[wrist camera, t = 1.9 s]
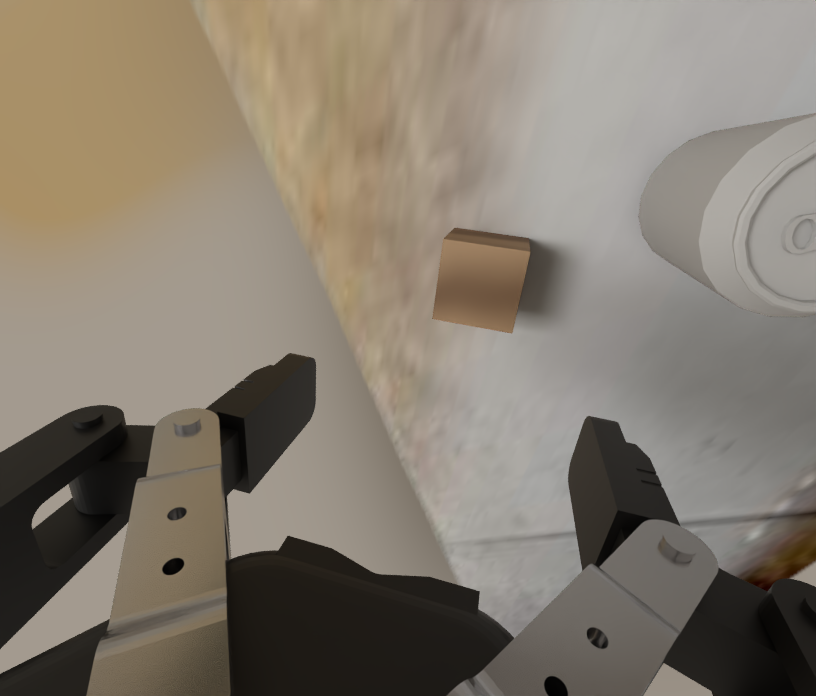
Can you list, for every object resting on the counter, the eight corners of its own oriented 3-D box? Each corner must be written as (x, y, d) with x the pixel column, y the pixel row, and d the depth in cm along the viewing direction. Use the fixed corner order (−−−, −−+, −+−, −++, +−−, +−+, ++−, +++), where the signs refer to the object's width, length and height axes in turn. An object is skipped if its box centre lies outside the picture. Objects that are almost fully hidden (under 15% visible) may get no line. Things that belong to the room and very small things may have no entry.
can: (776, 252, 25) (970, 317, 14) (636, 273, 27) (713, 343, 16) (787, 113, 22) (1034, 65, 12) (632, 149, 25) (720, 137, 14)
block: (454, 227, 29) (443, 238, 24) (528, 238, 28) (530, 251, 24) (444, 296, 31) (432, 318, 26) (513, 308, 30) (512, 333, 26)
